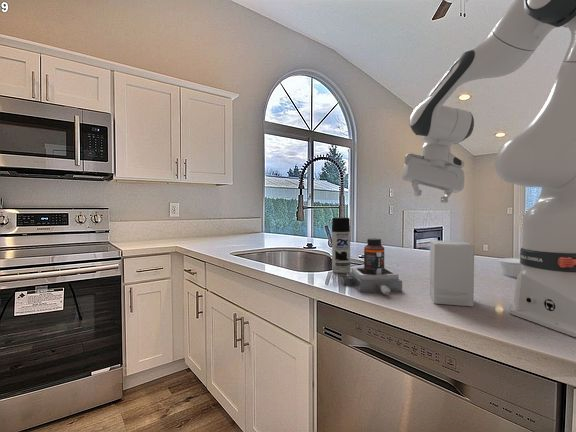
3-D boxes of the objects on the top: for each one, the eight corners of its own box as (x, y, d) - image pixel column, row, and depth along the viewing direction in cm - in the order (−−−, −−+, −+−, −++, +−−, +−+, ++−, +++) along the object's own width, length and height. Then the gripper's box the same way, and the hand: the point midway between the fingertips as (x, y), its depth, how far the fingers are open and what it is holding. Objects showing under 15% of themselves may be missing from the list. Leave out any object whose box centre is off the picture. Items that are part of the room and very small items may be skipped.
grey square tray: (409, 296, 86) (409, 279, 85) (353, 297, 85) (353, 280, 85) (385, 280, 105) (385, 266, 104) (340, 280, 104) (340, 267, 104)
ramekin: (495, 276, 110) (495, 260, 110) (503, 271, 117) (503, 256, 117) (536, 281, 102) (536, 264, 101) (542, 275, 109) (542, 260, 109)
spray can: (333, 273, 115) (333, 218, 114) (330, 270, 122) (330, 217, 121) (352, 273, 115) (352, 217, 114) (348, 269, 122) (348, 217, 121)
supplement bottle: (385, 278, 94) (385, 239, 93) (364, 277, 95) (364, 239, 95) (383, 274, 100) (383, 237, 99) (363, 273, 101) (363, 237, 100)
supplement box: (474, 307, 76) (475, 244, 76) (433, 304, 79) (433, 243, 78) (466, 297, 85) (466, 240, 84) (429, 294, 87) (429, 239, 87)
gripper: (411, 148, 101) (406, 189, 99) (468, 163, 104) (465, 204, 101) (401, 155, 108) (396, 194, 105) (455, 169, 110) (452, 208, 107)
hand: (430, 199), depth 103 cm, fingers open, 8 cm apart
